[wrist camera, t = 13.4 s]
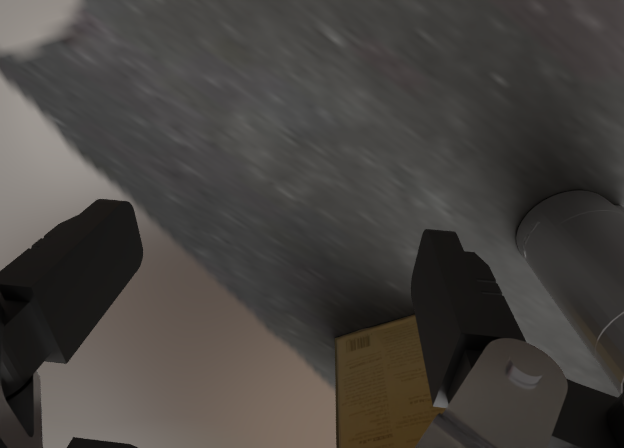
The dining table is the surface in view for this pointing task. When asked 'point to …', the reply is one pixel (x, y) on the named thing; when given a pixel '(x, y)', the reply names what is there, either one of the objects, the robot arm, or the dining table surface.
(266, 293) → the dining table surface
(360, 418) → the food packaging
